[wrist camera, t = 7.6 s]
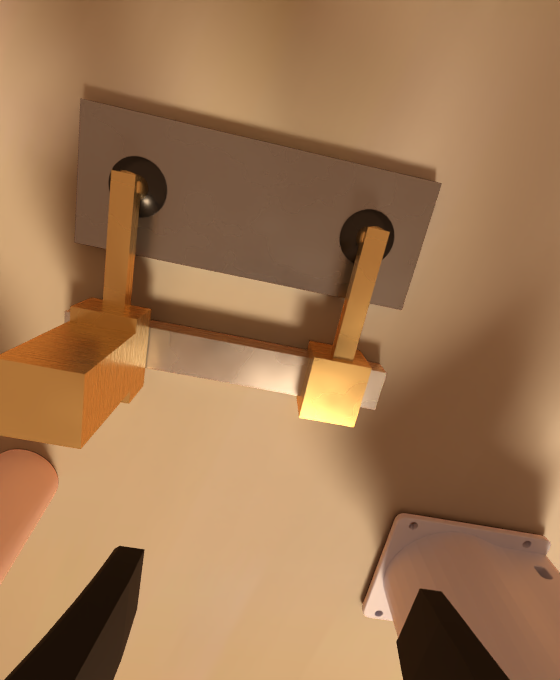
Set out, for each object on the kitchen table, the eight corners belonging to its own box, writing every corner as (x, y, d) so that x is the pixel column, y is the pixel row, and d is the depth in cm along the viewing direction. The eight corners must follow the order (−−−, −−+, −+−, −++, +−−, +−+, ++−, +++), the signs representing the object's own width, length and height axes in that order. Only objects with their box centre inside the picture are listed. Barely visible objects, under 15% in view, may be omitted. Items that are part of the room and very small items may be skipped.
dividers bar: (419, 237, 17) (441, 240, 15) (366, 407, 20) (378, 431, 17) (85, 163, 16) (53, 153, 14) (76, 353, 18) (48, 372, 16)
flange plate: (435, 184, 16) (442, 183, 16) (397, 307, 18) (402, 310, 17) (87, 103, 15) (79, 97, 14) (81, 241, 17) (73, 242, 16)
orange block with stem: (168, 181, 15) (96, 153, 9) (146, 381, 18) (79, 465, 12) (105, 167, 15) (-13, 129, 9) (92, 371, 18) (-5, 451, 12)
